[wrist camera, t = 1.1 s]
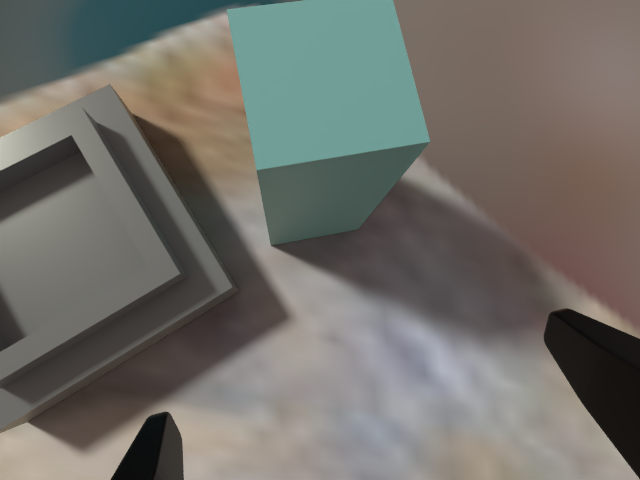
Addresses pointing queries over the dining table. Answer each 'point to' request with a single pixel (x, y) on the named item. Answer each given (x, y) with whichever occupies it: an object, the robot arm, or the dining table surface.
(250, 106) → the column brick
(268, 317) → the dining table surface
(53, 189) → the base brick
